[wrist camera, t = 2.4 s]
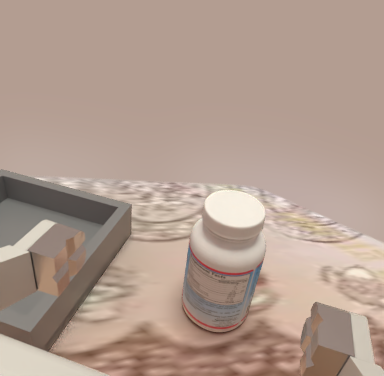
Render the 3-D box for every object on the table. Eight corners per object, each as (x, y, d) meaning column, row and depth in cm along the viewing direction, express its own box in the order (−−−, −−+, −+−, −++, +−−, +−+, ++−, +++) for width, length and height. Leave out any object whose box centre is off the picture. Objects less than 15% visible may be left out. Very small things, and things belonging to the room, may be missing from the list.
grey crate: (131, 233, 39) (131, 204, 37) (38, 365, 26) (30, 332, 23) (8, 198, 42) (1, 169, 39) (-132, 300, 29) (-154, 265, 26)
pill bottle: (212, 270, 35) (231, 176, 29) (260, 309, 32) (292, 212, 26) (167, 301, 32) (177, 200, 26) (215, 349, 28) (240, 246, 22)
